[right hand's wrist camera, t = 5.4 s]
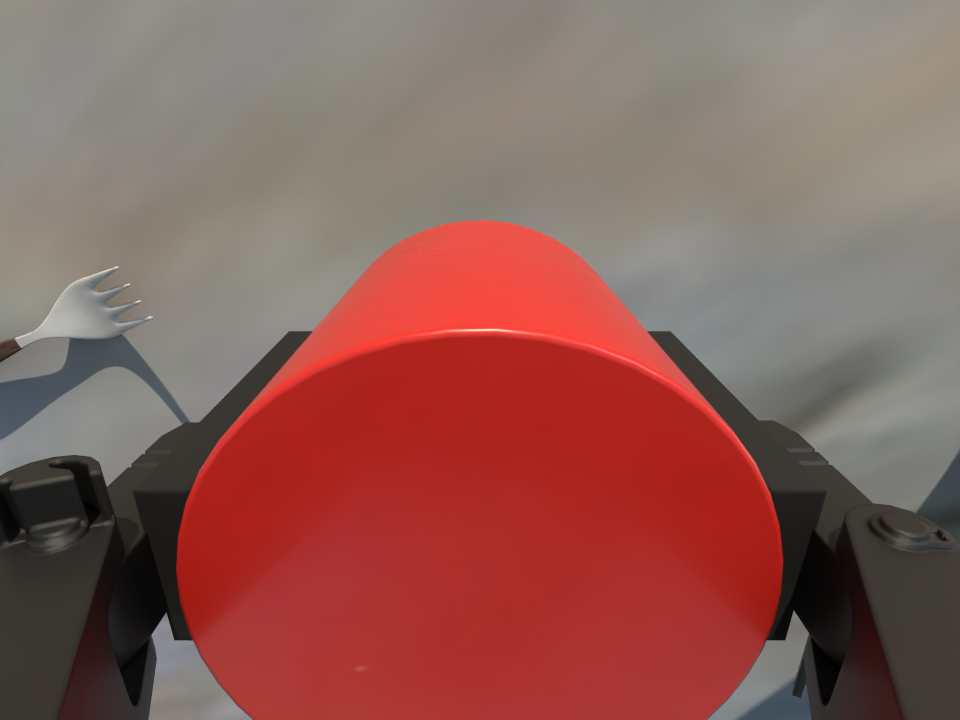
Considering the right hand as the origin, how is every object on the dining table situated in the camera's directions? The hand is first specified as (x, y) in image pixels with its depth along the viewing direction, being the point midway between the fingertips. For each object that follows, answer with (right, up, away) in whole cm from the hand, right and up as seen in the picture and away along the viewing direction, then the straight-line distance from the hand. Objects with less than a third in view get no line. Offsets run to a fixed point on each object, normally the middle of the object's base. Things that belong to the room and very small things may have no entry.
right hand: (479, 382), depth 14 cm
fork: (-20, +1, +10) cm, 23 cm away
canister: (0, 0, +1) cm, 1 cm away
